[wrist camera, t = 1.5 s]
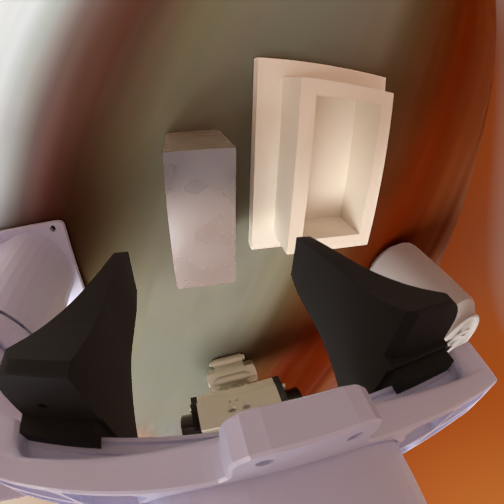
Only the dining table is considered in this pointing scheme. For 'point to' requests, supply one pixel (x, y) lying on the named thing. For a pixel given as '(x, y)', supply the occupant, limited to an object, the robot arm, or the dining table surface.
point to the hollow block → (315, 153)
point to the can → (429, 286)
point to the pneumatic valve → (232, 394)
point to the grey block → (201, 206)
